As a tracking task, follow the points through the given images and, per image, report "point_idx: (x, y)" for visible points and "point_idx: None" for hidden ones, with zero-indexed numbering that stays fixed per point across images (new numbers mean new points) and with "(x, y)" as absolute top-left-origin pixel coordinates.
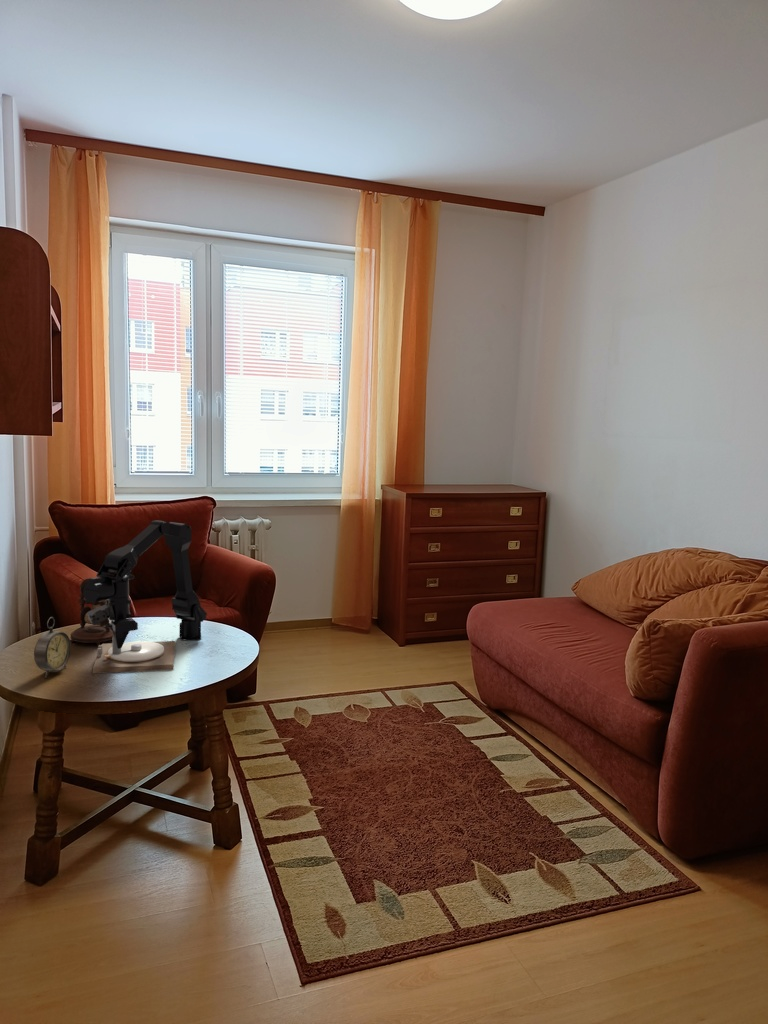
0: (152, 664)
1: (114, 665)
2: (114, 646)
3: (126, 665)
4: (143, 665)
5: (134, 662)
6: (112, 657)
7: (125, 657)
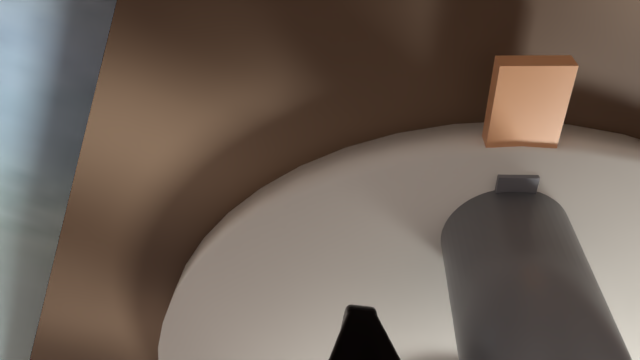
0: (61, 345)
1: (185, 57)
2: (496, 303)
3: (121, 174)
4: (58, 290)
5: None
6: (434, 141)
7: (258, 253)
